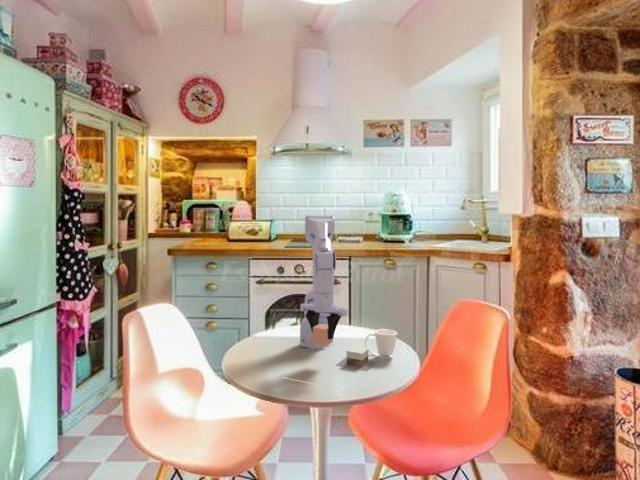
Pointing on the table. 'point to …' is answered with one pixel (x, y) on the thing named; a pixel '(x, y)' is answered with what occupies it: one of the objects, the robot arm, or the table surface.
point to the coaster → (364, 368)
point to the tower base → (357, 362)
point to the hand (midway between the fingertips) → (323, 337)
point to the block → (321, 335)
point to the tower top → (357, 353)
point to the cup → (384, 342)
